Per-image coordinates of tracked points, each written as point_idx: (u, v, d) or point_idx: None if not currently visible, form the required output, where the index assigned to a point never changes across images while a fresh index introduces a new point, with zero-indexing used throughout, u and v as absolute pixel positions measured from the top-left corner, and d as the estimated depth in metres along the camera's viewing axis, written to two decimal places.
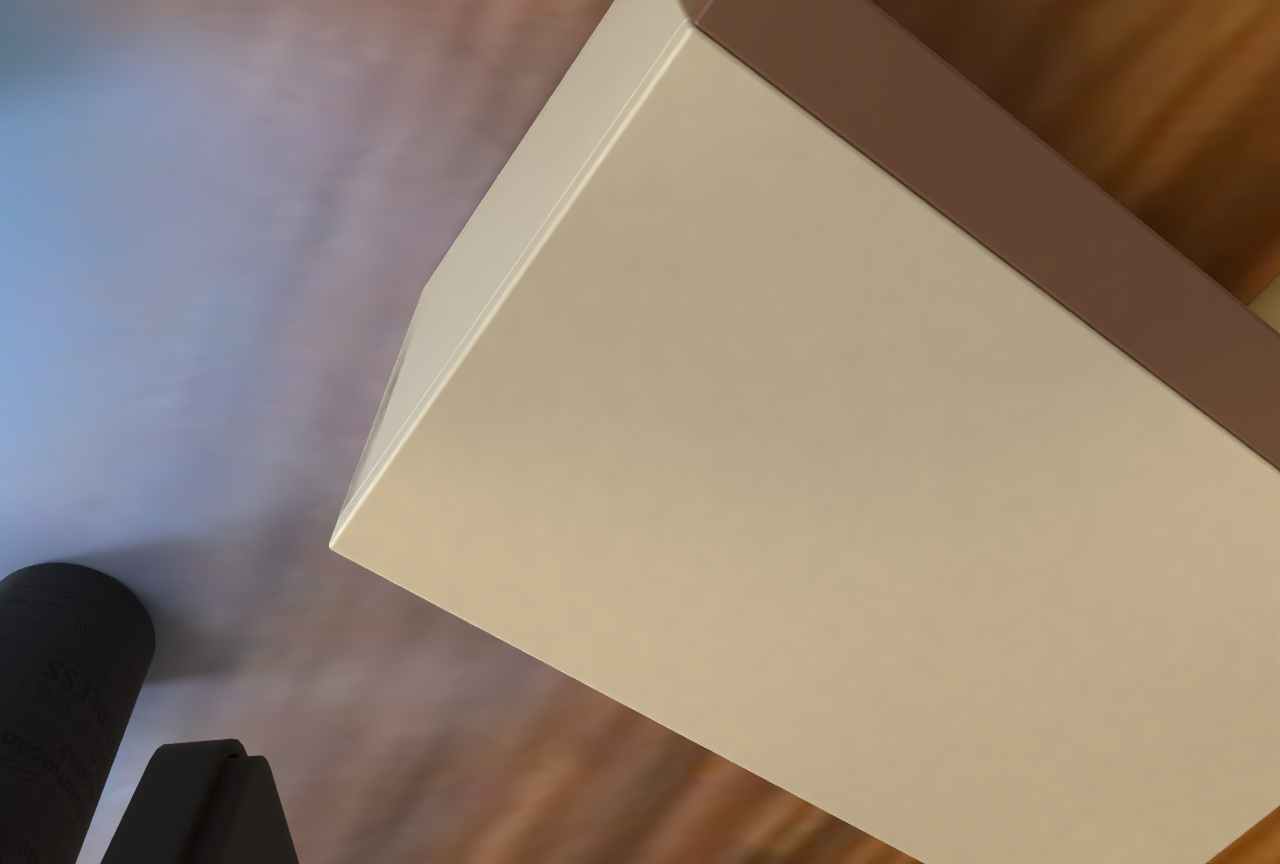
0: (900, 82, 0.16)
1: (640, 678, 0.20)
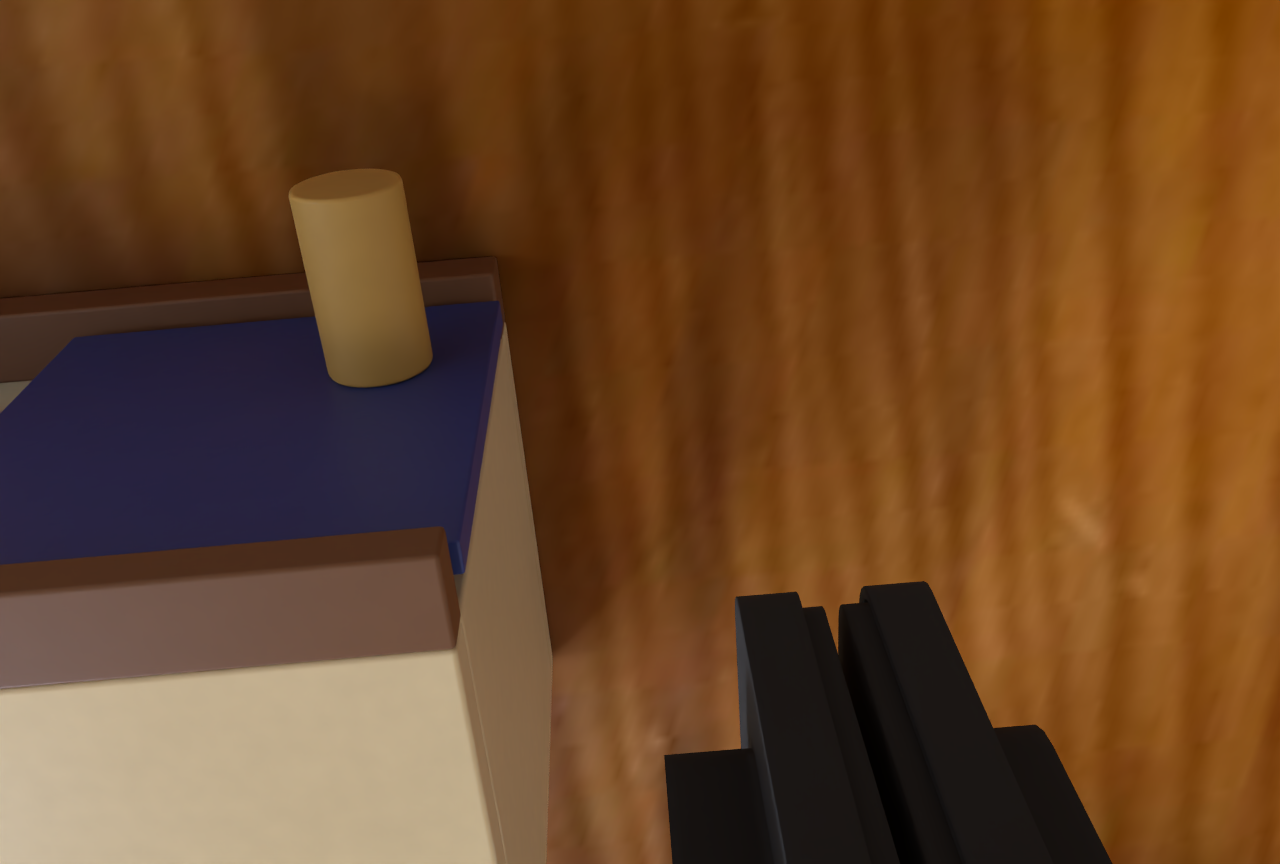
0: None
1: None
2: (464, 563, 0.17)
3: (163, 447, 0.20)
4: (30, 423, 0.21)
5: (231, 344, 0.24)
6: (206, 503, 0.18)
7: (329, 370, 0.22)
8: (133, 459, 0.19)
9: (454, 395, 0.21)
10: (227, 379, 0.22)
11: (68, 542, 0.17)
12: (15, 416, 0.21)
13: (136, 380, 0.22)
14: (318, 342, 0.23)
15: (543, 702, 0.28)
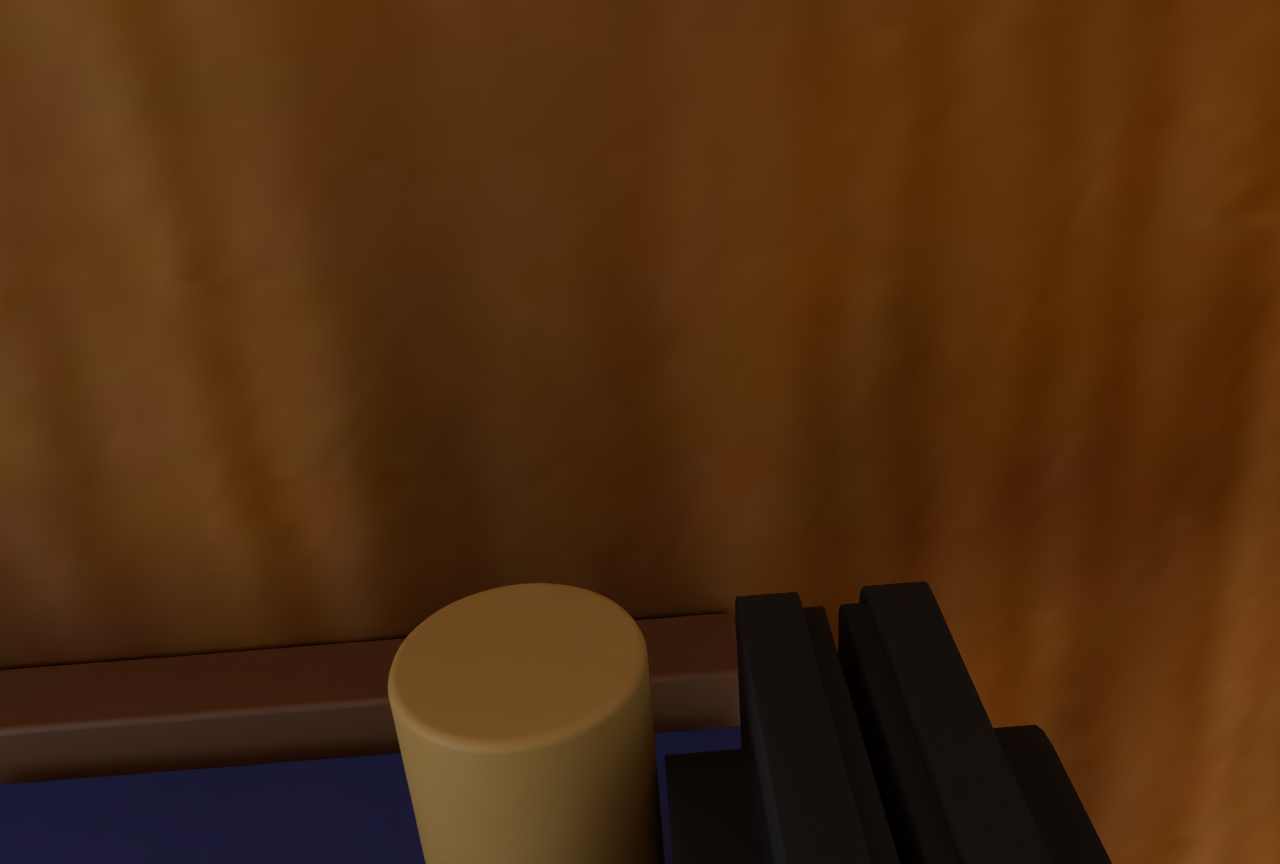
0: None
1: None
2: None
3: None
4: None
5: (248, 843, 0.12)
6: None
7: None
8: None
9: None
10: None
11: None
12: None
13: None
14: (420, 853, 0.12)
15: None
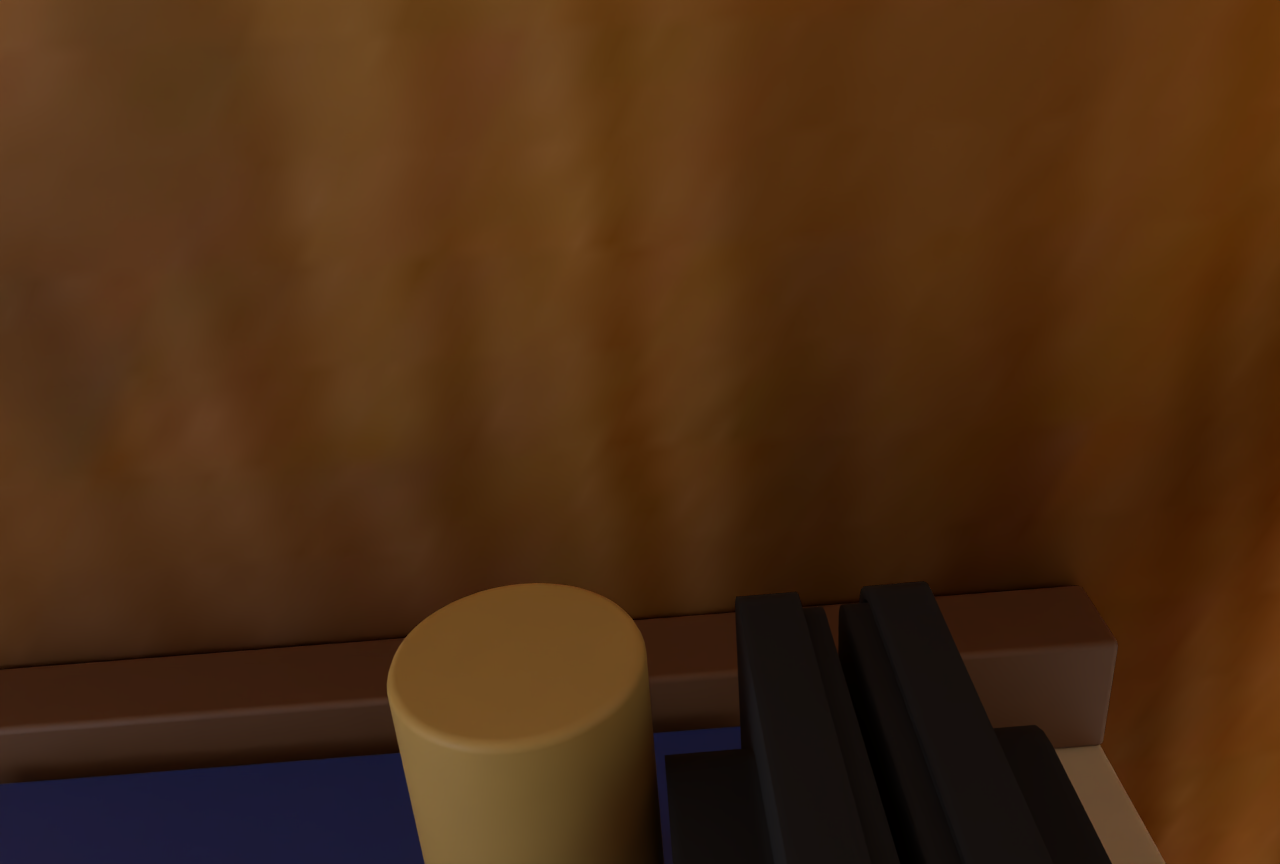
0: None
1: None
2: None
3: None
4: None
5: (247, 844, 0.12)
6: None
7: None
8: None
9: None
10: None
11: None
12: None
13: None
14: (419, 853, 0.12)
15: None
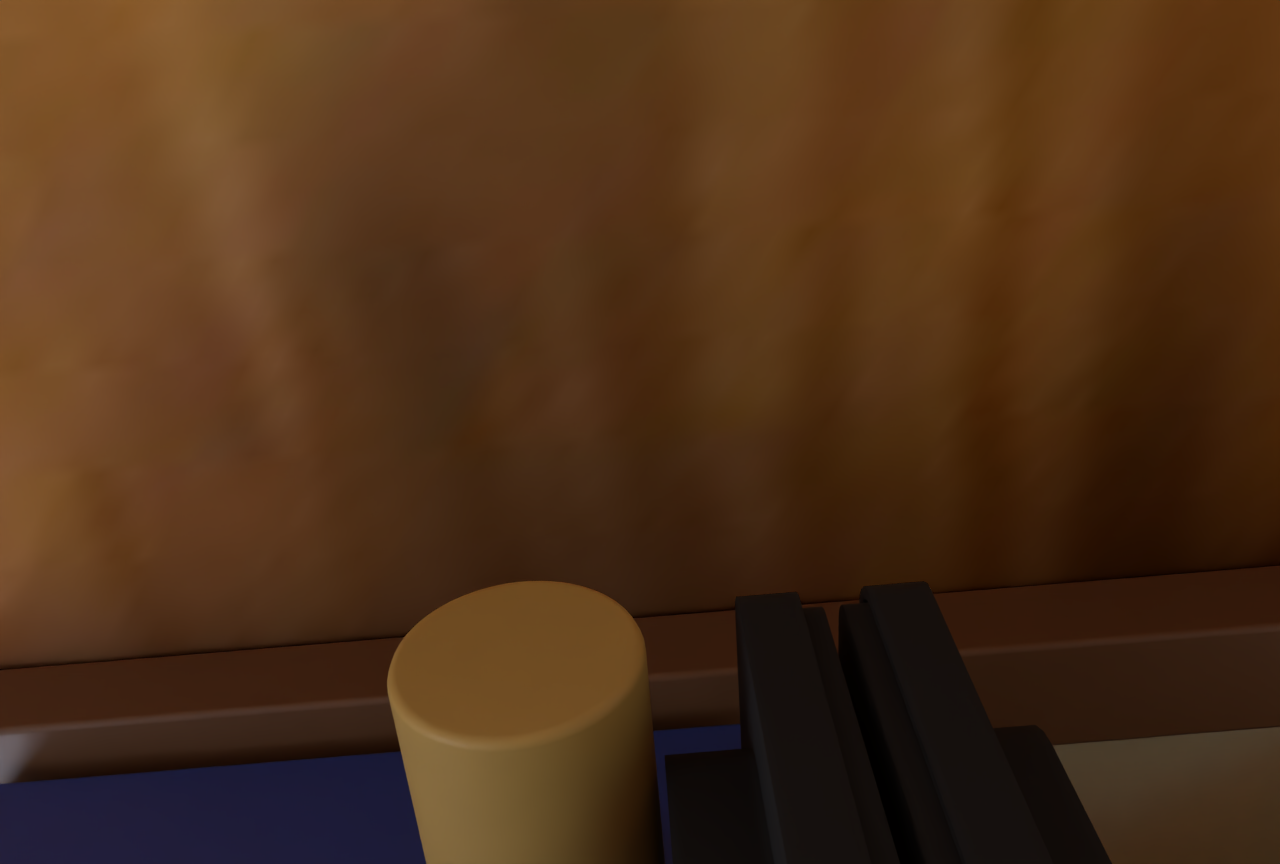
0: None
1: None
2: None
3: None
4: None
5: (250, 841, 0.12)
6: None
7: None
8: None
9: None
10: None
11: None
12: None
13: None
14: (421, 851, 0.12)
15: None
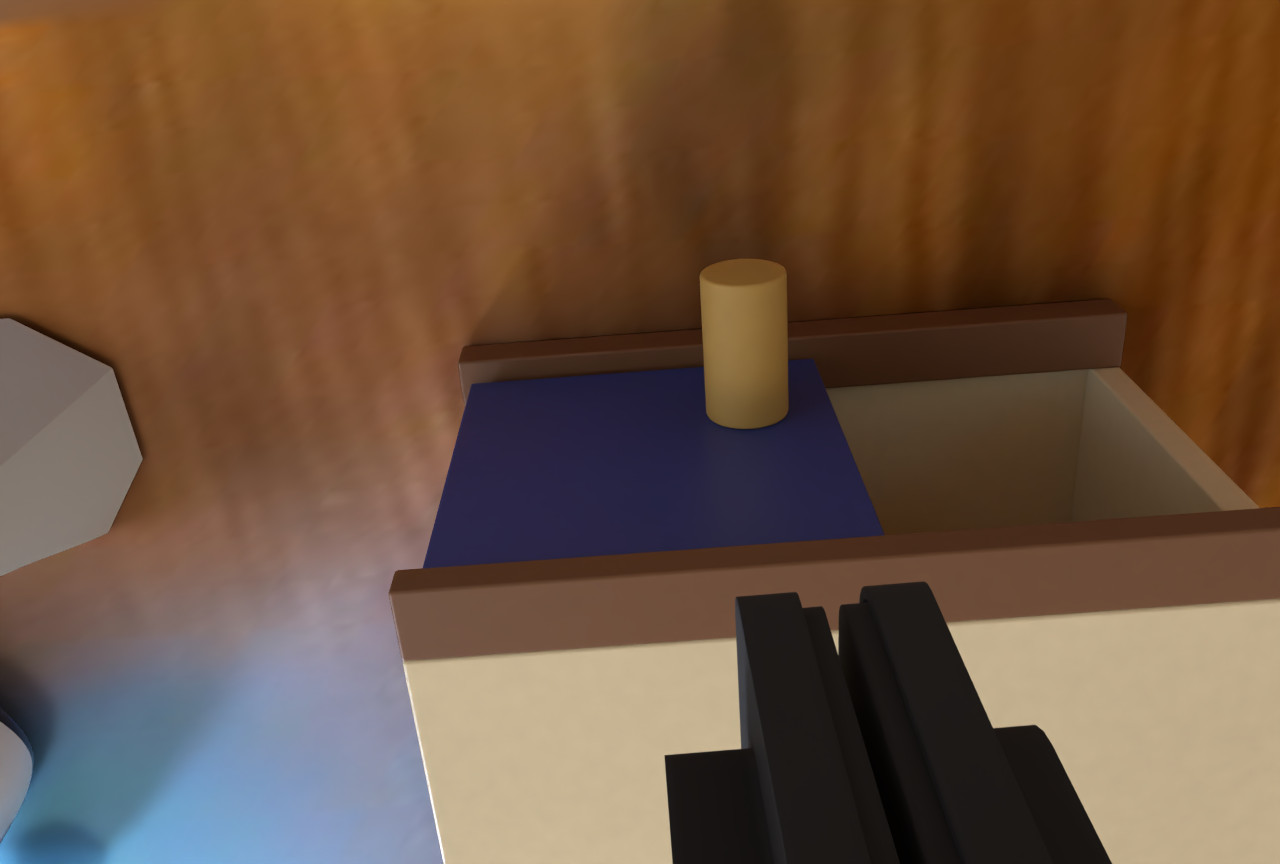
0: (540, 607, 0.21)
1: None
2: None
3: (610, 473, 0.26)
4: (487, 453, 0.27)
5: (609, 392, 0.30)
6: (673, 516, 0.24)
7: (713, 415, 0.27)
8: (591, 482, 0.25)
9: (821, 436, 0.27)
10: (625, 420, 0.28)
11: (584, 544, 0.23)
12: (470, 447, 0.27)
13: (550, 420, 0.28)
14: (682, 391, 0.29)
15: None
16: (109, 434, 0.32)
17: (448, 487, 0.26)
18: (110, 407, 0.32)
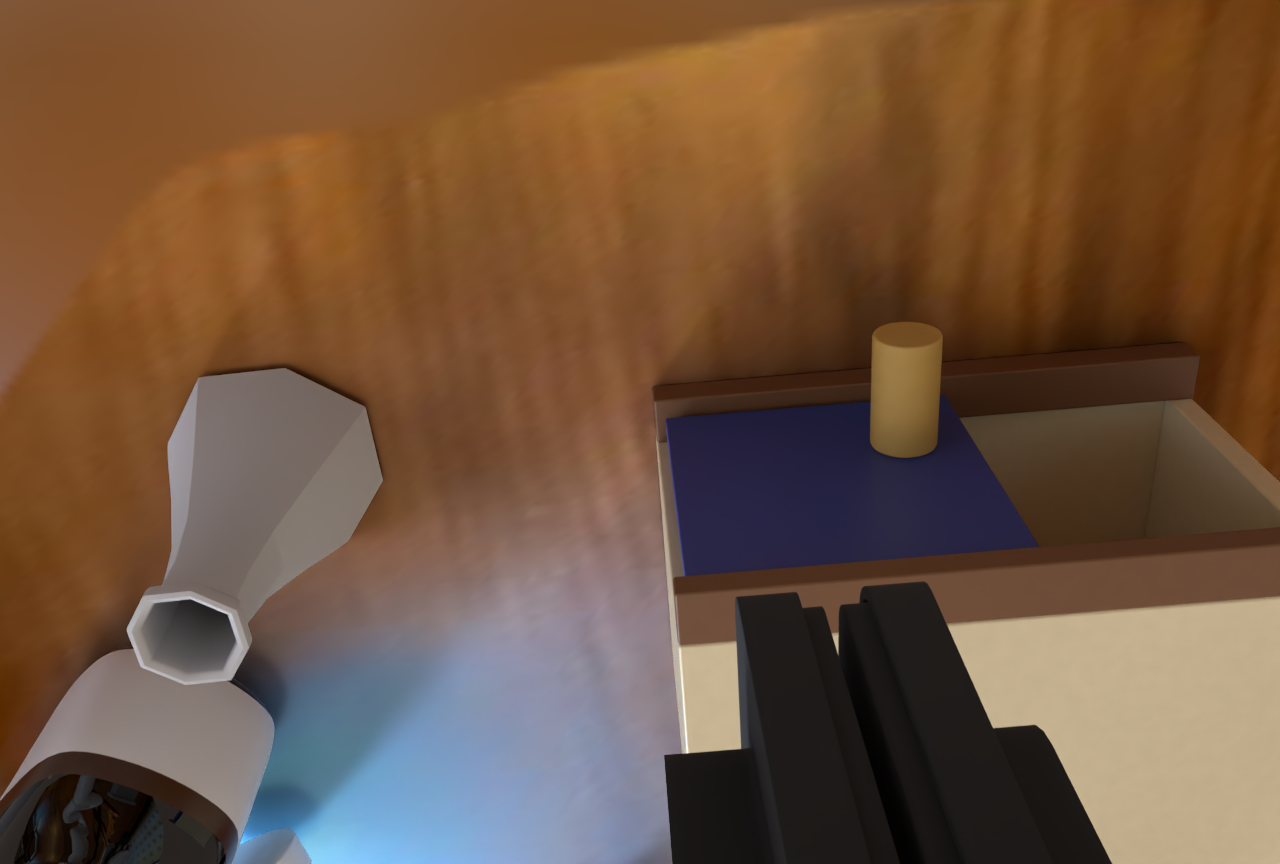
0: None
1: None
2: None
3: (807, 496, 0.33)
4: (702, 480, 0.34)
5: (784, 425, 0.37)
6: (869, 531, 0.31)
7: (878, 446, 0.34)
8: (795, 503, 0.32)
9: (969, 464, 0.34)
10: (805, 450, 0.35)
11: (806, 554, 0.30)
12: (686, 474, 0.34)
13: (743, 450, 0.35)
14: (844, 425, 0.36)
15: None
16: (363, 461, 0.38)
17: (680, 508, 0.33)
18: (364, 439, 0.38)
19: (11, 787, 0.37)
